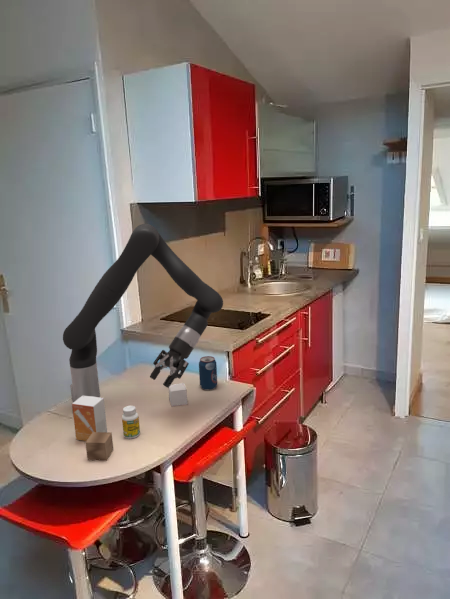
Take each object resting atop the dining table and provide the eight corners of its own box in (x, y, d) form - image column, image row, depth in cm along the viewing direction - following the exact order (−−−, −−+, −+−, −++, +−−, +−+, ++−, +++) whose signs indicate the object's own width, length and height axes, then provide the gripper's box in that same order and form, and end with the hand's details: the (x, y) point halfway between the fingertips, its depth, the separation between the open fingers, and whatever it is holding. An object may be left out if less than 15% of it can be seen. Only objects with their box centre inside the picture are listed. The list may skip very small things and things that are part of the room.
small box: (75, 440, 155) (71, 403, 152) (86, 430, 161) (82, 394, 158) (97, 443, 153) (93, 406, 149) (108, 433, 159) (104, 397, 155)
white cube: (187, 404, 177) (186, 389, 175) (171, 406, 176) (170, 391, 174) (185, 397, 183) (184, 382, 181) (169, 399, 181) (168, 384, 180)
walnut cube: (87, 460, 144) (85, 442, 142) (94, 449, 150) (92, 432, 148) (106, 460, 143) (104, 442, 142) (113, 449, 149) (111, 432, 147)
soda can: (217, 390, 187) (215, 361, 184) (199, 391, 187) (197, 362, 184) (217, 383, 194) (216, 355, 191) (200, 383, 194) (199, 355, 191)
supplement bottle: (136, 428, 161) (133, 402, 158) (142, 435, 156) (140, 408, 154) (121, 434, 158) (118, 407, 155) (127, 441, 153) (124, 413, 151)
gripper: (166, 331, 167) (140, 371, 163) (190, 341, 157) (162, 384, 152) (180, 342, 172) (154, 381, 168) (203, 352, 161) (177, 394, 157)
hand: (158, 382), depth 160 cm, fingers open, 8 cm apart
